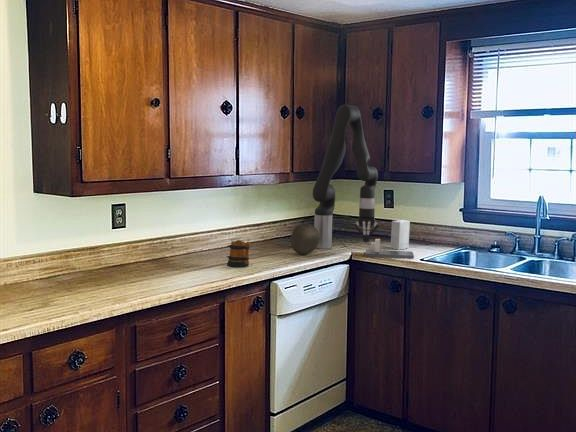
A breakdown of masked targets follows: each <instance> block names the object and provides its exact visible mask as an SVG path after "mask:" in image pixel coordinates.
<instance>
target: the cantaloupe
mask: <svg viewBox="0 0 576 432" xmlns="http://www.w3.org/2000/svg"><path fill="white" fill-rule="evenodd" d="M319 240H320V235H319V232H318V230H317V229H316V228H315V227H314V225H312V224H309V223H301V224H299V225H297V226H295V228H294V229H293V231H292V233H291V234H290V245H291V248H292V250H293V251H294V252H295V253H296V254H298V255H301V256H303V255H308V254H311V253H312V252H313V251H314V250H316V249H317V248H316V247H317V246H318V244H319Z"/></svg>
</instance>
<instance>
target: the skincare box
mask: <svg viewBox="0 0 576 432" xmlns="http://www.w3.org/2000/svg"><path fill="white" fill-rule="evenodd" d="M410 224H411V221H409V220H406V219H398V220H391V233H390V249H392V248H393V249H392V250H396V249H398V250H397V251H401V250H407V249H409V246H410V245H409V244H410V229H411V225H410ZM406 248H407V249H406ZM400 249H401V250H400Z"/></svg>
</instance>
